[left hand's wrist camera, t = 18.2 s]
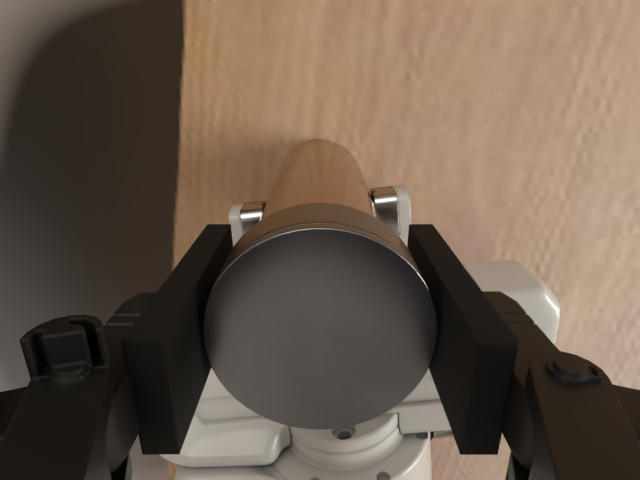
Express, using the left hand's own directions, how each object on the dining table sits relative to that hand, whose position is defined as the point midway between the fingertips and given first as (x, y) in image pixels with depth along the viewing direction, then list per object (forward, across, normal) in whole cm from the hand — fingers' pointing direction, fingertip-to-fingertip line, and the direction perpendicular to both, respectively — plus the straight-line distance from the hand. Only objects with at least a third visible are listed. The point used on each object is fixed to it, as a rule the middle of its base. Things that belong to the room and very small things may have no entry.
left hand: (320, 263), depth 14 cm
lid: (-4, 0, 0) cm, 4 cm away
